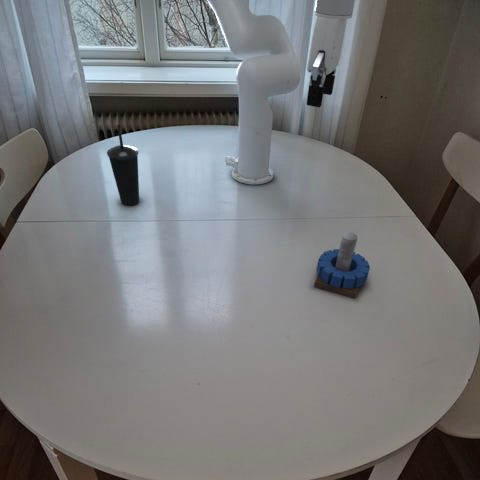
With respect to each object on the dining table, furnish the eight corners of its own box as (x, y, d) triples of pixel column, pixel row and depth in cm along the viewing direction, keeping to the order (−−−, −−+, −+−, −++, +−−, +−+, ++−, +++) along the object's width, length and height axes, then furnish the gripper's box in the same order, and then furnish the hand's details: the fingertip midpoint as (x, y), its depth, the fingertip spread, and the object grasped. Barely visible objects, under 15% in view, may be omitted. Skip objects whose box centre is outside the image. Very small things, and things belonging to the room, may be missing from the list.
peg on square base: (313, 287, 93) (322, 241, 85) (324, 264, 99) (333, 220, 91) (355, 298, 90) (368, 253, 82) (363, 274, 96) (376, 230, 89)
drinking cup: (110, 204, 115) (95, 127, 101) (125, 192, 120) (114, 117, 106) (134, 211, 113) (123, 133, 99) (149, 198, 118) (141, 122, 104)
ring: (310, 279, 92) (312, 269, 90) (325, 253, 99) (327, 244, 98) (359, 294, 89) (362, 284, 87) (371, 267, 96) (374, 257, 94)
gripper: (326, -1, 92) (313, 87, 104) (303, 10, 80) (292, 108, 92) (361, 3, 90) (344, 92, 102) (343, 15, 78) (326, 114, 90)
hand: (319, 99), depth 97 cm, fingers open, 9 cm apart
